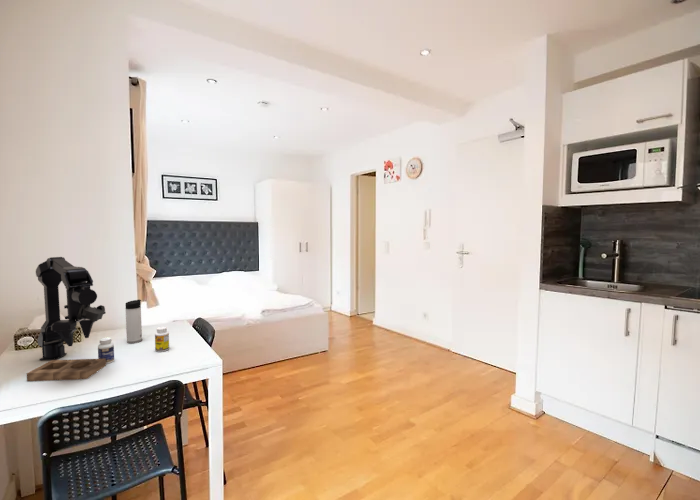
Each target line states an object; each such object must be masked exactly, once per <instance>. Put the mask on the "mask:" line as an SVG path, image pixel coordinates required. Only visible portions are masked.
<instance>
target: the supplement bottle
mask: <svg viewBox="0 0 700 500" xmlns="http://www.w3.org/2000/svg"><path fill="white" fill-rule="evenodd" d="M169 334H170V333H169V331H168V330H167V327H166V326H159V327H157V328H156V332H155V333H154V346H155V347H154V348H155V349H154V350H155V351H156V352H157V353H162V352H167V351H168V350H169V349H170V335H169Z"/></svg>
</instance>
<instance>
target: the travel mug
mask: <svg viewBox="0 0 700 500" xmlns="http://www.w3.org/2000/svg"><path fill="white" fill-rule="evenodd" d="M141 302H142V300H141V299H135V300H129V301H126V303H125V308H124V309H125V329H126V343H127V344H137V343H141V342H142V341H143V331H142V330H143V329H142V327H143V326H142V307H141V306H142V305H141Z"/></svg>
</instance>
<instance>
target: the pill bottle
mask: <svg viewBox="0 0 700 500" xmlns="http://www.w3.org/2000/svg"><path fill="white" fill-rule="evenodd" d="M112 340H113V339H112V337H110V336H109V337H103V338H100V339H99V344H98V346H97V359H105V358H106V365H108V364H110V363H113V362H115V346H114V342H112Z"/></svg>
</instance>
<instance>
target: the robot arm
mask: <svg viewBox="0 0 700 500" xmlns="http://www.w3.org/2000/svg"><path fill="white" fill-rule="evenodd" d="M35 276H36V277H37V280H38V282H39V283H40V284H41V285H42V286H43V293H44V294H43V295H44V296H43V297H44V313H45V314H44V315H45V321H44V322H43V324H42V325H41V327H40V333H39V334H38V338H37V340H36V341H37V345H38V346H39V347H41V351H42V357H41V358H39V361H51V360H59V359H60V358H62V357H64V356H66V355H67V352H65V351H66V350H65V348H66V347H65V345H64V343H65V344H67V346H68V347H73V343H74V333H75V331H76V330H77V329H78V328H77V325H78V323H79V325H80V329H81V331H82V334H83V337H84V338H85V339H88V338H89V337H90V334H91V331H92V328H93V325H94V324H95V323H96V322H98V321H99V320H102V318H103V315H105V314H106V308H105V307H106V306H104V305H101V304H100V305H97V306H96V307H95V306H93V307H92V306H91V305H92V304H94V303H95V302H96V301H97V298H98V294H97V292H96V291H95V290H93V289H91V287H93V286H94V284H93V283H94V280H93V278H92V276H91V273H90V272H89V270H87V268H85V267H83V266H74V265H73V264H72V263H70V262H68V261H67V260H66V259H65V257H63V256H56V257H55V256H54V257H49V258H47V259H46V260H45V261H44V262H41V263H39V264H38V265H37V267H36V269H35ZM61 283H62V284H63V285H64V287H65V290H66V293H65V294H66V304H64V306H63V307H64V308H63V309H66V310H67V315H65V316H64V319H61V313H60V312H61V309H60V293H59V292H60V291H59V286H60V284H61Z"/></svg>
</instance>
